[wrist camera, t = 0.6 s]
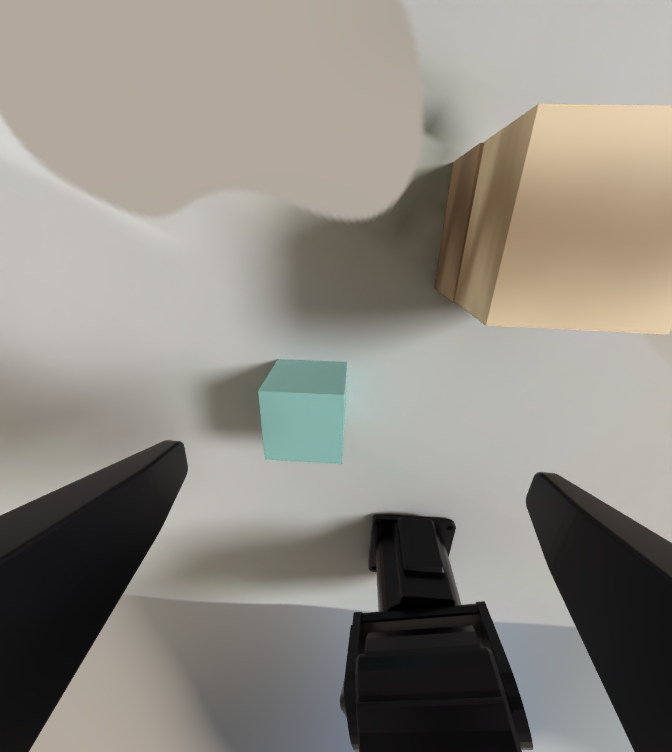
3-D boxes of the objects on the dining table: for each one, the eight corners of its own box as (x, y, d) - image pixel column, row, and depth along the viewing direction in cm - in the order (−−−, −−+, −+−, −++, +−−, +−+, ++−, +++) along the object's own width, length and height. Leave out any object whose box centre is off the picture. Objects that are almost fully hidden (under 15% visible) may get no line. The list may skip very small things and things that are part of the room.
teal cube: (345, 420, 22) (342, 463, 18) (281, 417, 22) (265, 459, 18) (347, 361, 20) (344, 395, 16) (278, 358, 21) (258, 391, 16)
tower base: (541, 290, 18) (588, 306, 14) (433, 287, 18) (452, 302, 14) (578, 164, 15) (646, 144, 12) (452, 162, 16) (480, 142, 12)
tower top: (590, 307, 14) (669, 334, 11) (454, 301, 14) (486, 325, 11) (650, 144, 12) (781, 107, 8) (484, 141, 12) (538, 103, 8)
